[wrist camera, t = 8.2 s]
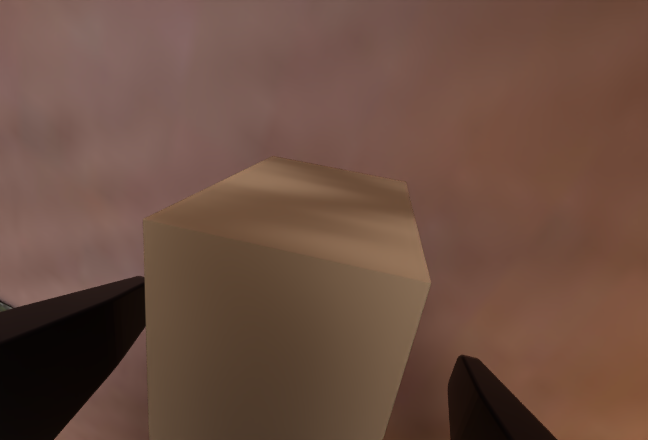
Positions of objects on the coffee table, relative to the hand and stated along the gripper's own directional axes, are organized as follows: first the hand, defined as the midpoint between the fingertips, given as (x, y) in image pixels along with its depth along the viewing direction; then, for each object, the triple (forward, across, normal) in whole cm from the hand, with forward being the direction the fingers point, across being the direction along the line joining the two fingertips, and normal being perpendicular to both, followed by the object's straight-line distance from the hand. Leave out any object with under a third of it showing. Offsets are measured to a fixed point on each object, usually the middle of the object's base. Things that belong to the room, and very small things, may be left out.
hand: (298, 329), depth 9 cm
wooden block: (+3, 0, 0) cm, 3 cm away
